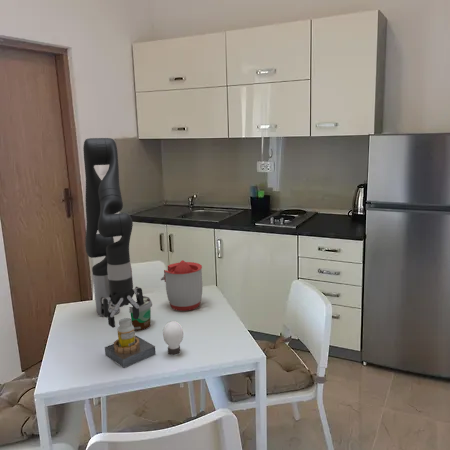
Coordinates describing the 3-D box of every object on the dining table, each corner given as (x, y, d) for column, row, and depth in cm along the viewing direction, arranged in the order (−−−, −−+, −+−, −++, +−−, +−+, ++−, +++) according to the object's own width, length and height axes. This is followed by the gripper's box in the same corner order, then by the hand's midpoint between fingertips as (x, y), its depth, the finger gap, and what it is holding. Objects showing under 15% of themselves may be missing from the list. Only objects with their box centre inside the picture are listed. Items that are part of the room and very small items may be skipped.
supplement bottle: (134, 350, 152) (131, 323, 150) (117, 351, 152) (115, 324, 150) (136, 343, 158) (134, 316, 156) (120, 344, 158) (118, 317, 155)
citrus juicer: (168, 299, 205) (164, 255, 201) (207, 299, 202) (204, 254, 198) (158, 313, 190) (154, 266, 186) (200, 314, 187) (197, 266, 183)
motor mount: (105, 355, 157) (103, 341, 156) (136, 343, 164) (135, 330, 163) (123, 368, 148) (122, 353, 147) (155, 354, 156) (154, 340, 155)
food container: (147, 333, 172) (144, 308, 170) (131, 332, 173) (128, 307, 171) (158, 319, 183) (156, 295, 181) (143, 319, 185) (141, 295, 183)
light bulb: (166, 359, 152) (163, 327, 150) (162, 349, 159) (160, 319, 156) (186, 355, 154) (184, 324, 152) (182, 346, 160) (180, 316, 158)
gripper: (133, 267, 157) (137, 313, 160) (93, 278, 148) (98, 326, 151) (145, 272, 151) (149, 319, 155) (105, 284, 142) (110, 333, 146)
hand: (124, 322), depth 153 cm, fingers open, 8 cm apart
